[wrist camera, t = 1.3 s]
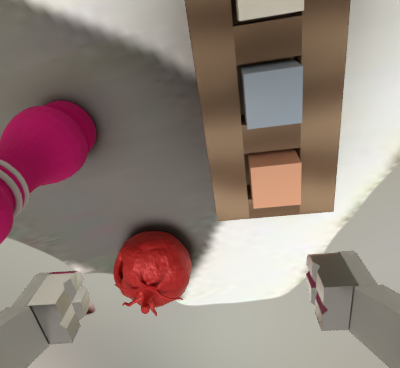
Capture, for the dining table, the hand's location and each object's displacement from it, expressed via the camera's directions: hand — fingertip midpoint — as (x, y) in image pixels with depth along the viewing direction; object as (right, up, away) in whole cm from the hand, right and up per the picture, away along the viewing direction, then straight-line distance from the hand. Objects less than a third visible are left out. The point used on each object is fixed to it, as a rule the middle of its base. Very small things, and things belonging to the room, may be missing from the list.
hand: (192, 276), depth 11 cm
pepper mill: (-14, +9, +22) cm, 28 cm away
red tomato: (-5, -5, +30) cm, 31 cm away
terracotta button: (+7, +5, +20) cm, 22 cm away
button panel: (+6, +13, +18) cm, 23 cm away
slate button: (+6, +12, +16) cm, 21 cm away
